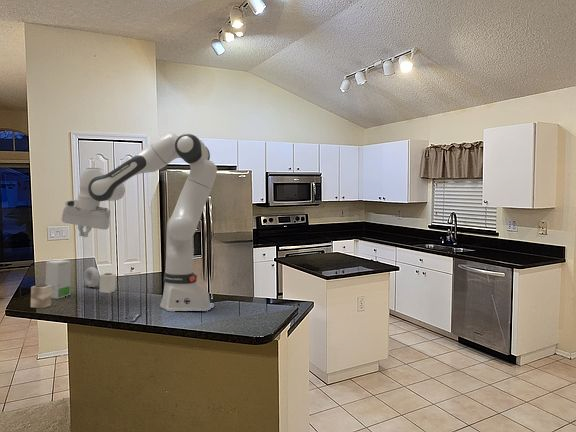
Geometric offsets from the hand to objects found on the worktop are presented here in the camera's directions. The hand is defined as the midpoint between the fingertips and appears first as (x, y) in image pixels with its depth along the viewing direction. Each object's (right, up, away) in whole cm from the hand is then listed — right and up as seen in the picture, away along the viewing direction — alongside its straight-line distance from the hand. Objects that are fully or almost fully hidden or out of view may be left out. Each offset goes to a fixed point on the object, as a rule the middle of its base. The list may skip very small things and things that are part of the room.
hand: (83, 236), depth 182 cm
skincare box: (-12, -26, +1) cm, 29 cm away
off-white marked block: (+4, -27, +16) cm, 31 cm away
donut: (-7, -26, +22) cm, 35 cm away
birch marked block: (-9, -27, -15) cm, 32 cm away
